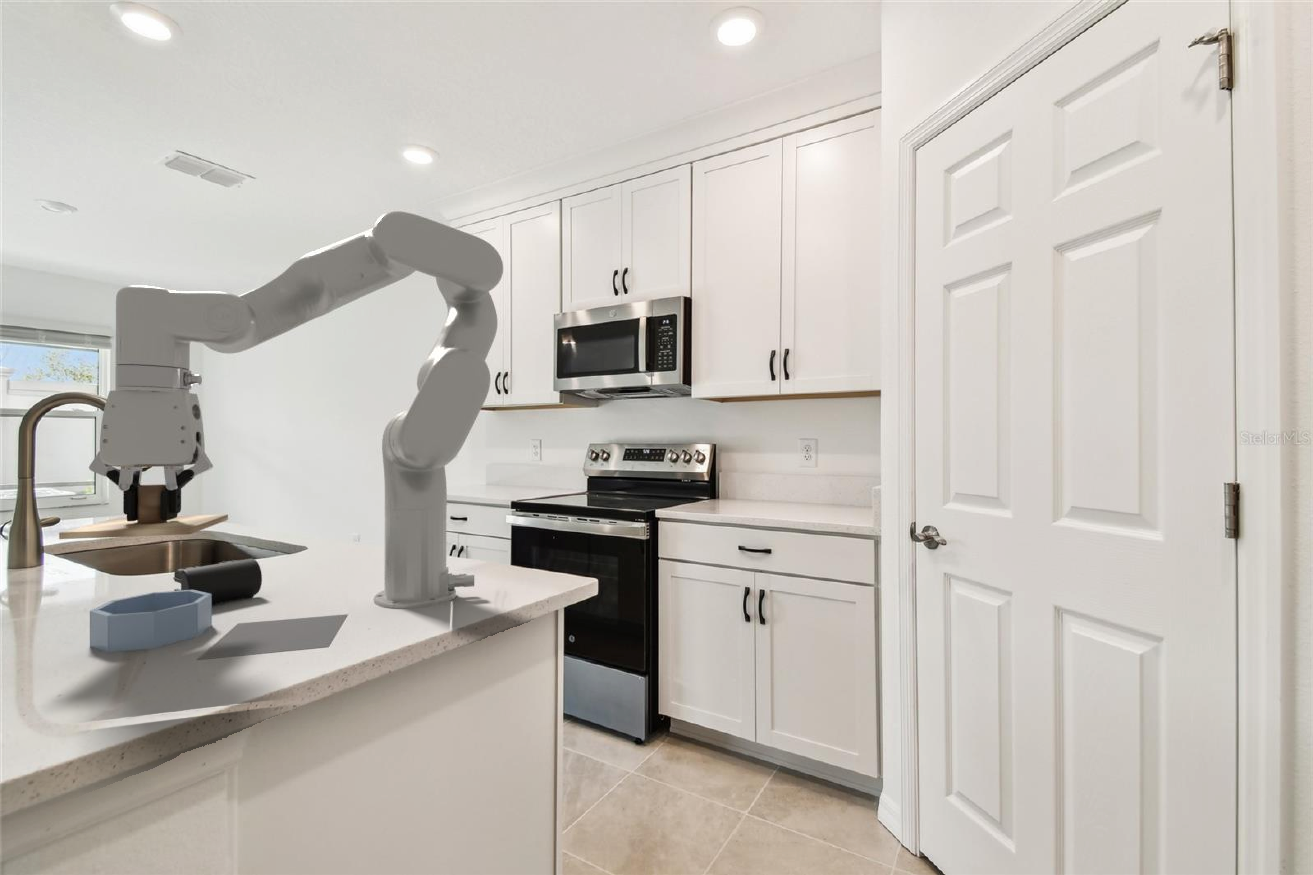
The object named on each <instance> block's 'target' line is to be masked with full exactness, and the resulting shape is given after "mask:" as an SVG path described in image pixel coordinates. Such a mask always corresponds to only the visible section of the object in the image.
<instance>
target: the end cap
mask: <svg viewBox="0 0 1313 875" xmlns="http://www.w3.org/2000/svg"><path fill="white" fill-rule="evenodd" d="M173 574H174V576H173V578H172V579H173V580H174V582H175V583H179V584H180V589H179V588H174V590H173V591H181V590H197V591H201V592H206V593H210V594H212V606H214V605H219V604H223V603H228V602H233V601H237V600H243V599H253V598H254V597H255V595H257V594H259V591H260V590H261V588H262V583H263V575H262V569H261V567H260V564H259V563H258V561H257V560H256V559H254V558H247V559H240V560H239V559H238V560H237V559H231V560H227V561H225V560H222V561H221V562H218V563H214V564H208V565H203V566H202V565H201V566H195V565H192V566H191V567H185V566H183V567H182V568H179V569H176V570H175V571H174V573H173Z"/></svg>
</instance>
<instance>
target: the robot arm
mask: <svg viewBox="0 0 1313 875" xmlns="http://www.w3.org/2000/svg"><path fill="white" fill-rule="evenodd" d="M415 272H420V273H421V274H425V275H428V276H431V277H434V278H435V282H436V285H437V288H438V289H439V292H440V294H441V295H442V297H443V300H444V301H445V304H446V308H447V316H446V319H445V322H444V325H443V326H442V329H441V331H440V334H439V335H438V337H437V338H436V340H435V342H434V345H433V346H432V349H431V350H430V352H429V354H428V356H426V359H425V361H424V362H423V363H422V365H421V367H420V369H419V371H418V374H417V378H416V387H417V390H418V392H417V394H416V396H415V398H414V400H413V401H412V404H411V405H410V407H409V410H405V411H402V412H400V413H398V414H396V415H395V416H394V417H392V418H391V419H390V421H389V422H387V425H386V427H385V428H384V430H383V434H382V440H381V442H382V445H381V448H382V449H381V450H382V453H381V454H382V463H383V475H384V476H383V477H384V478H383V480H384V590H382V591H379V592H378V593H376V594H375V595H374V597H373V603H374V604H375V605H376V606H378V607H381V608H386V609H414V608H416V609H417V608H423V607H424V608H425V607H430V606H434V605H440V604H443V603H445V602H448V601H450V602H452V601H453V600H454V599H455V598H456V595H457V590H456V588H460V587H463V588H469V587H471V588H472V587H475V574H467V573H459V574H453V573H452V572H451V573H450V572H449V566H447V505H448V504H447V503H448V501H447V500H448V498H447V497H448V495H447V491H448V490H447V476H446V466H447V465H449V463H451V462H452V461H453V460H454V459H455V458H456V457H457V456H458V454H459V452H460V451H461V450H462V448H463V445H464V444H465V442H466V440H467V439H468V436H469V434H470V433H471V430H472V428H473V426H474V424H475V422H476V420H477V419H478V415H479V414H480V411H481V409H482V408H483V406H484V403H485V402H486V400H487V396H488V394H489V391H490V387H491V373H490V368H489V366H488V363H487V361H486V359H487V357H488V355H489V353H490V350H491V348H492V346H493V343H494V341H495V337H496V335H497V330H498V314H497V310H496V307H495V303H494V300H493V298H492V295H491V293H490V291H492V290H493V289H494V288H496V287H497V286H498V284H499V283H500V281H501V280H502V277H503V274H504V264H503V260H502V256H501V255H500V253H499V251H497V249H496V248H495V247H494V246H493V245H492V244H491V243H490V242H488V241H486V240H484V239H483V238H481V237H479V236H476V235H473V234H470V233H467V232H465V231H463V230H460V229H457V228H454V227H452V226H449V225H446V224H444V223H440V222H438V221H435V220H432V219H430V218H427V217H424V216H421V215H417V214H414V213H412V212H405V211H401V210H400V211H399V210H398V211H395V210H394V211H389V212H386V213H384V214H382V215H381V216H380V217H379V218H378V219H377V220H376V222H375V223H374V225H373V227H372V228H371V229H368V230H365V231H363V232H361V233H358V234H355V235H353V236H351V237H348V238H346V239H343V240H340V241H338V242H335V243H332V244H330V245H328V246H325V247H322V248H320V249H317V250H315V251H311V252H309V253H306V254H305V255H303V256H301V257H300V258H299V259H297V260H296V261H294V262H293V263H292V264H291V265H290V266H288V267H287V269H286V270H285V271H283V272H281V274H279V275H278V276H277V277H276V278H273V279H271V280H270V281H268V282H266V283H264V284H263V285H261V286H259V287H256V288H255V289H253V290H252V289H251V290H250V291H248V292H245V293H243V294H241V295H237V294H233V293H230V292H225V291H182V290H181V291H179V290H177V291H176V290H173V289H168V288H162V287H155V286H148V285H128V286H124V287H122V288H121V287H120V289H119V290H118V292H117V293H116V295H115V372H114V373H115V375H114V376H115V379H114V380H115V383H114V384H115V387H114V389H115V390H109V391H108V395H107V398H106V402H105V405H104V409H103V413H102V418H101V419H102V420H101V425H100V426H101V427H100V435H99V436H100V437H99V451H98V453H97V454H96V456H95V457H94V458H93V460H92V461H91V463H90V464H89V466H88V468H89V470H90V471H91V472H94V473H96V474H98V475H100V476H103V477H107V478H108V479H109V480H110V481H111V482H112V483H113V484H115V485H116V486H117V487H118V489H119V490H120V491H122V492H123V497H122V498H123V501H122V503H123V504H122V505H123V510H122V511H123V514H124V515H126V517H127V521H136V520H137V513H138V485H142V484H141V483H142V474H143V467H144V468H145V467H146V468H147V467H163V473H164V482H165V483H164V484H166V485H165V490H162V491H161V519H162V520H170V519H174V518H177V516H179V515H178V514H179V513H181V510H182V489H184V488H185V486H186V485H187V484H189V483H190V481H192V480H193V479H194V478H195V477H197V476H198V475H202V474H205V473H206V472H207V471H208V472H209V471H210V470H212V469H214V468H213V467H214V464H213V463H212V462H211V461H212V460H210V458H209V456H207V454H206V450H205V434H204V423H203V416H202V410H201V405H200V400H199V398H198V394H197V393H191V392H190V390H192V386H196V385H202V380H203V379H202V378H203V377H202V375H200V374H194V373H192V370H191V369H190V364H191V362H190V359H191V358H190V357H191V356H190V350H191V349H190V347H191V342H192V343H199V344H200V343H201V344H203V345H204V346H206V347H207V348H209V349H211V350H212V351H214V352H217V353H219V354H220V353H221V354H227V355H229V354H230V355H231V354H237V353H241V352H244V351H247V350H250V349H252V348H254V347H257V346H259V345H260V344H263V343H265V342H267V341H271V340H273V339H274V338H277V337H279V336H281V335H283V334H285V333H287V332H289V331H292V330H293V329H296V328H298V327H301V325H304V324H306V323H308V322H311V321H313V320H314V319H317V318H319V317H320V318H321V317H323V316H324V315H327V314H329V313H332V312H333V311H334V310H336V309H339V308H341V307H343V306H345V305H348V304H350V303H352V302H354V301H356V300H359V299H360V298H362V297H365V296H367V295H369V294H371V293H374V292H376V291H378V290H380V289H383V288H386V287H388V286H390V285H392V284H394V283H397V282H399V281H401V280H403V279H406V278H407V277H409V276H411V275H412V274H414V273H415ZM186 465H187V466H189V465H193V466H191V467H189V468H187V469H185V466H186ZM116 467H118V468H116ZM119 467H120V468H119Z"/></svg>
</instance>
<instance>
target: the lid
mask: <svg viewBox="0 0 1313 875" xmlns="http://www.w3.org/2000/svg"><path fill="white" fill-rule="evenodd" d="M165 485H166V483H161V484H159V483H155V484H154V483H151V484H140V485H138V513H137V520H136V521H127V516H126V517H125V516H123V517H116V518H115V517H114V518H112V519H111V518H110V519H108V520H104V521H100V522H96V523H92V524H88V525H83V526H81V527H79V526H78V527H76V528H72V529H68V530H64V531H60V532H59V533H58V535H59V536H58V539H59V540H73V539H74V540H75V539H76V540H77V539H78V540H79V539H100V538H101V539H103V538H104V539H105V538H124V537H125V538H128V537H129V538H130V537H132V538H133V537H152V536H153V537H155V536H156V537H157V536H177V535H179V536H181V535H183V536H185V535H192V534H195V533H197V532H200V531H203V530H205V529H208V528H210V527H213V526H215V525H218V524H221V523H223V522H226V521H228V520H229V514H227V513H226V514H200V515H199V514H196V515H177V518H174V519H170V520H162V519H161V491H162V490H165Z"/></svg>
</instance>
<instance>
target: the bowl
mask: <svg viewBox="0 0 1313 875" xmlns="http://www.w3.org/2000/svg"><path fill="white" fill-rule="evenodd" d="M180 590H181V589H180ZM212 608H213V605H212V594H210V593H206V592H201V591H197V590H181V591H174V590H170V591H169V590H168V591H167V590H166V591H153V592H148V593H144V594H138V595H134V596H129V597H122V598H118V599H113V600H110V601H107V602H106V603H103V604H101V605H100V606H97V607H95V608H93V609H91V610H89V647H90V648H91V647H92V648H95V649H98V650H100V651H103V652H106V653H114V652H124V651H125V652H126V651H136V650H147V649H156V648H160V647H163V646H167V645H170V644H174V643H177V642H181V641H186V640H189V639H192V638H193V639H194V638H196V637H199V636H200V635H201V634H203V633H204V632H206V630H208V629H209V628H210V627H212V625H213V624H212V623H213V622H212V620H213V618H212V617H213V614H212V613H213V612H212V611H213V610H212Z"/></svg>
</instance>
